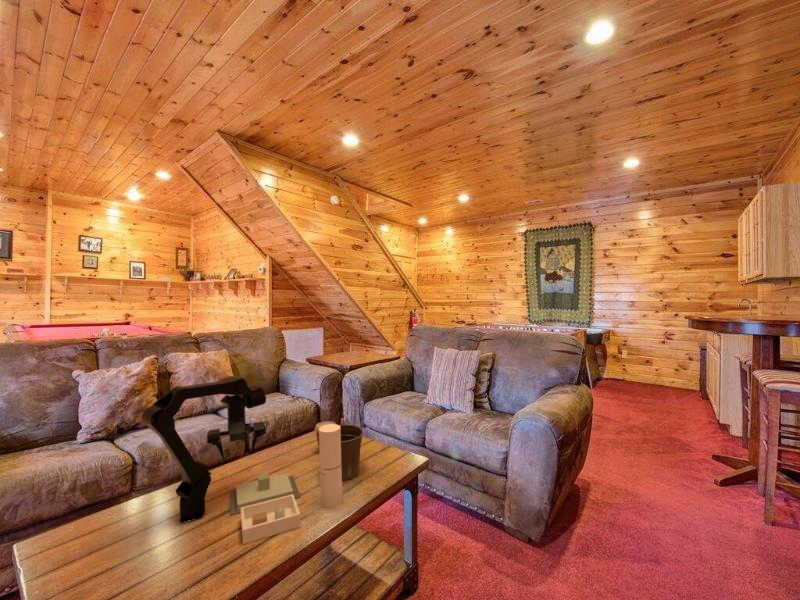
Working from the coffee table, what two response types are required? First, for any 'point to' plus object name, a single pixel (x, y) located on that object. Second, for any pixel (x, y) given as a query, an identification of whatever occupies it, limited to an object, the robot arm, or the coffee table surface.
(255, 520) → the box
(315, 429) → the disposable coffee cup
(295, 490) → the mat
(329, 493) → the cylindrical container
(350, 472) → the plant pot
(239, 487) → the lid
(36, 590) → the coffee table surface
